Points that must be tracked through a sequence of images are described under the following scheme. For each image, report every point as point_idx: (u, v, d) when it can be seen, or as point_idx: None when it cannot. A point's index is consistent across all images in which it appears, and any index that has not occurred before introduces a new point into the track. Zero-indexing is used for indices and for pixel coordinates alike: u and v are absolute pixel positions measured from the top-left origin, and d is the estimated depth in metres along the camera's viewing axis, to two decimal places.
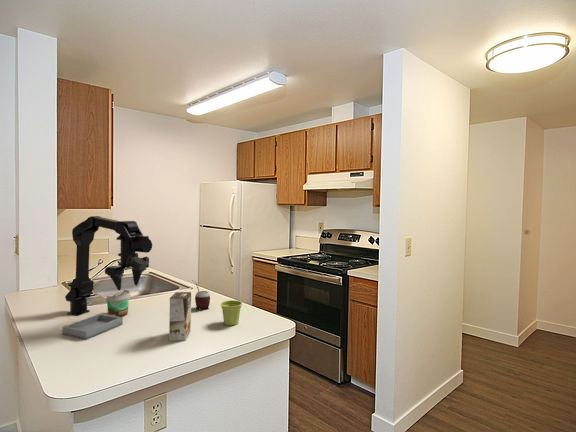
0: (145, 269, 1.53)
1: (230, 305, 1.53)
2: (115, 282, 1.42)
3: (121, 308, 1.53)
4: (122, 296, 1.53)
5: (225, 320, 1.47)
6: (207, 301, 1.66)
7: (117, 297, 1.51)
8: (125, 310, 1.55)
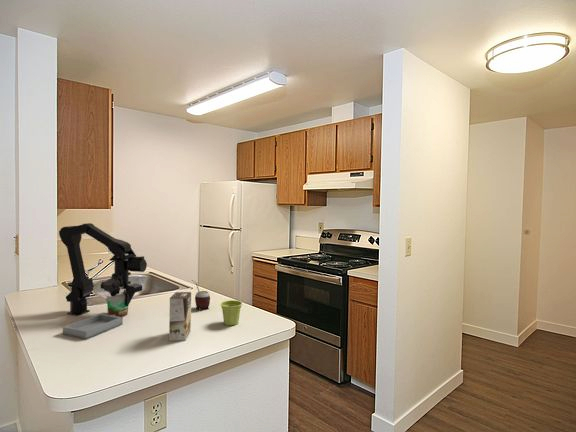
0: (126, 293, 1.51)
1: (230, 305, 1.53)
2: None
3: (121, 308, 1.53)
4: (122, 296, 1.52)
5: (225, 320, 1.47)
6: (207, 301, 1.66)
7: (117, 297, 1.51)
8: (125, 310, 1.55)
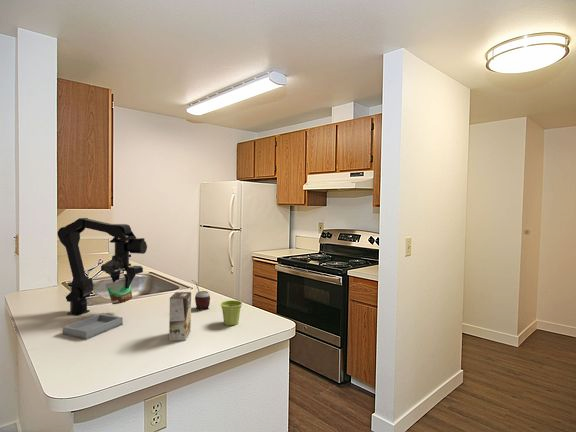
0: (126, 275, 1.50)
1: (230, 305, 1.53)
2: None
3: (123, 293, 1.53)
4: (121, 281, 1.52)
5: (225, 320, 1.47)
6: (207, 301, 1.66)
7: (116, 283, 1.51)
8: (128, 294, 1.55)
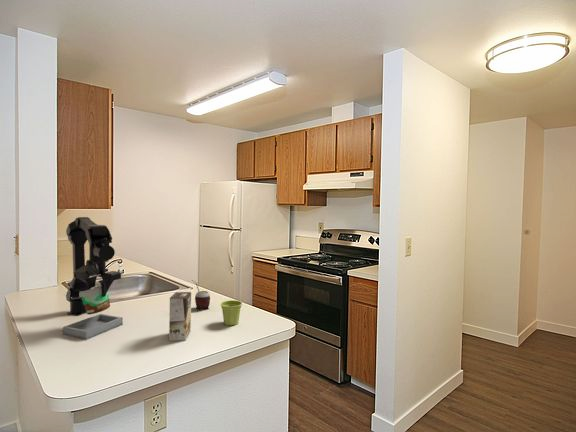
0: (102, 282, 1.35)
1: (230, 305, 1.53)
2: None
3: (99, 302, 1.38)
4: (96, 289, 1.37)
5: (225, 320, 1.47)
6: (207, 301, 1.66)
7: (90, 291, 1.36)
8: (105, 303, 1.40)
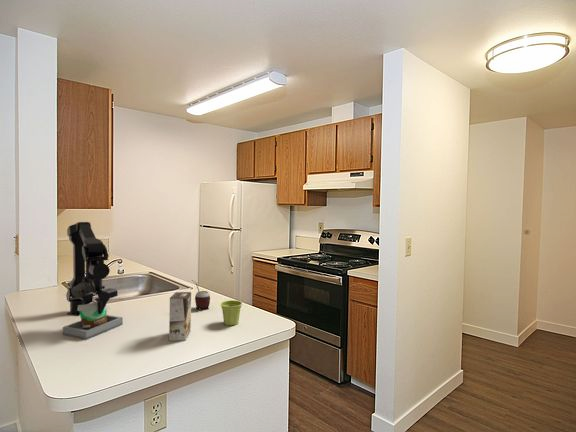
0: (98, 300, 1.34)
1: (230, 305, 1.53)
2: None
3: (97, 317, 1.37)
4: (95, 303, 1.36)
5: (225, 320, 1.47)
6: (207, 301, 1.66)
7: (89, 305, 1.35)
8: (102, 319, 1.39)
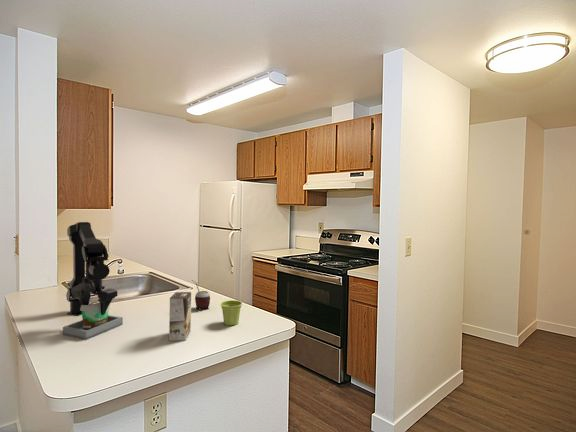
0: (101, 300, 1.33)
1: (230, 305, 1.53)
2: None
3: (98, 319, 1.37)
4: (98, 305, 1.36)
5: (225, 320, 1.47)
6: (207, 301, 1.66)
7: (92, 306, 1.35)
8: (103, 321, 1.39)
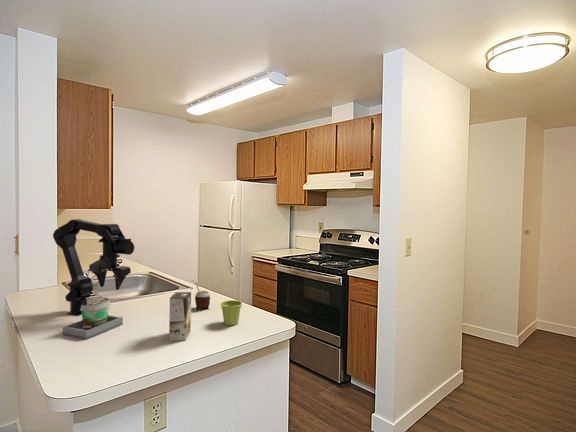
0: (116, 276, 1.47)
1: (230, 305, 1.53)
2: None
3: (98, 319, 1.37)
4: (98, 305, 1.36)
5: (225, 320, 1.47)
6: (207, 301, 1.66)
7: (92, 306, 1.35)
8: (103, 321, 1.39)
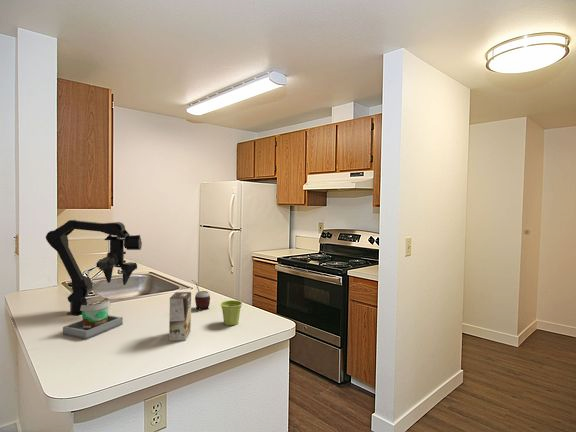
0: (123, 271, 1.55)
1: (230, 305, 1.53)
2: None
3: (98, 319, 1.37)
4: (98, 305, 1.36)
5: (225, 320, 1.47)
6: (207, 301, 1.66)
7: (92, 306, 1.35)
8: (103, 321, 1.39)
